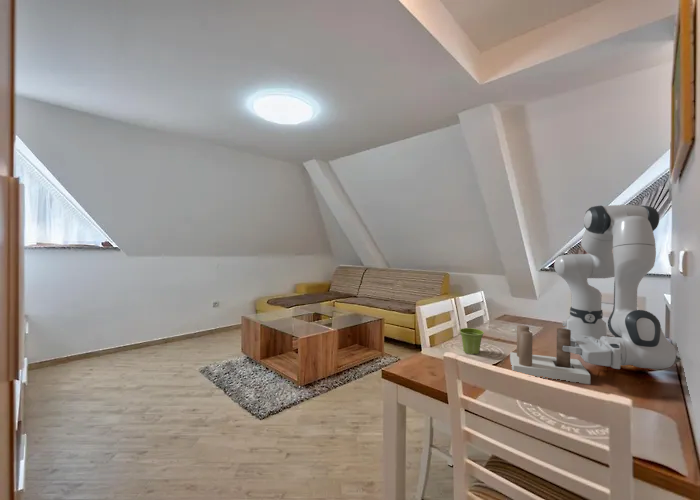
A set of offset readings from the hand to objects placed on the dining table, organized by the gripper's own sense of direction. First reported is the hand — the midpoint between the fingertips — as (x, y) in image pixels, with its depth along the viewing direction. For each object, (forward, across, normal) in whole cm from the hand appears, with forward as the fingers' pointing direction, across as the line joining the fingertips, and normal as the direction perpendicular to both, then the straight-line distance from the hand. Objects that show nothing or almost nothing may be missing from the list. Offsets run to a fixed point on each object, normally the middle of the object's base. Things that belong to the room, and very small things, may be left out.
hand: (560, 345), depth 112 cm
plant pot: (+29, -11, +10) cm, 33 cm away
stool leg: (-1, 0, +8) cm, 8 cm away
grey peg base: (+4, 0, +10) cm, 10 cm away
